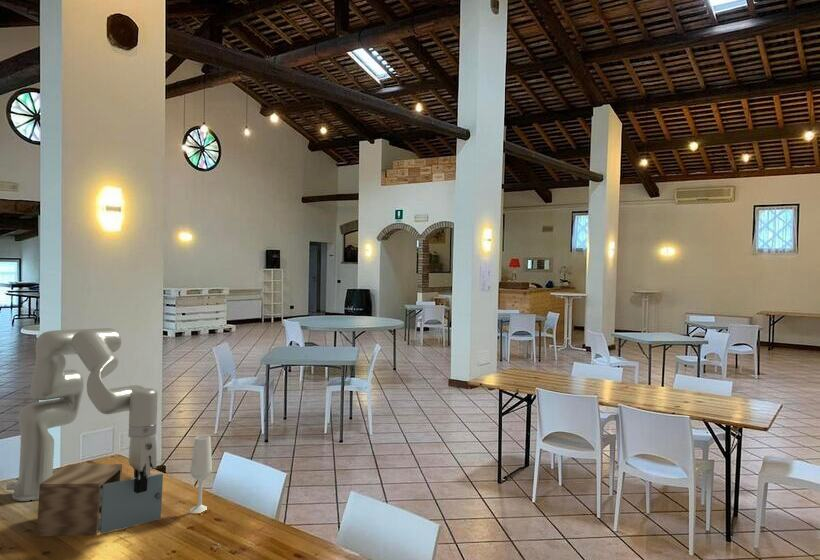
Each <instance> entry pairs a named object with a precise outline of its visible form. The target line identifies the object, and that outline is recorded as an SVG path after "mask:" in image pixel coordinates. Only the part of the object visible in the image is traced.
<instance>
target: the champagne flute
mask: <svg viewBox="0 0 820 560" xmlns="http://www.w3.org/2000/svg"><path fill="white" fill-rule="evenodd" d="M211 439H212V438H211V436H210V435H205V434H204V435H197V436H195V438H194V443H193V450H192V451H193V452H192V457H191V458H192V459H191V465H190V470H189V471H190V474H191V476H192V477H193V479H195V480H196V481H197V482H198V491H197V492H198V493H197V494H198V495H197V505H195V506H193V507H191V508H190V509H189V510H190V513H201V512H203V511H205V510H207V507H208V506H206V505H203V503H202V502H203V483H204V482H203V481H205V480H206V479H207V478H208V477H210V475H211V473H212V471H213V462H212V461H213V459H212V456H213V455H212V440H211ZM190 513H189V514H190Z"/></svg>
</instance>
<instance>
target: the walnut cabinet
mask: <svg viewBox="0 0 820 560" xmlns="http://www.w3.org/2000/svg"><path fill="white" fill-rule="evenodd" d="M122 472H123V464H121V463H120V464H118V463H117V464H116V463H115V464H113V463H112V464H109V463H107V464H105V463H104V464H102V463H101V464H98V463H97V464H93V463H92V464H68V465H66V466H64V467H63V468H62V469H60V470H58V471H57V472H55V473H54V474H53V476H51V477H50V478H48V479H47V480H45V481H44V482H42V483H41V484H40V486H39V499H38V505H37V527H36V537H37V536H38V537H68V536H69V537H72V536H73V537H74V536H97V535H98V534H99V533H100V531H98V520H99V519H101V502H102V499H100V488H102V484H107V483H112V482H117V481H122V476H123V475H122V474H123V473H122Z"/></svg>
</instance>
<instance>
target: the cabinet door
mask: <svg viewBox="0 0 820 560" xmlns="http://www.w3.org/2000/svg"><path fill="white" fill-rule="evenodd" d="M134 479H136V478H134V477H133V478H129V479H123V480H122V479H121V481H117V482H112V483H107V484H102V488H100V499H102V502H101V519H99V520H98V531H100V532H99V533H100V535H101V534H105V533H110V532H113V531H117V530H118V531H119V530H121V529H122V530H123V529H126V528H129V527H134V526H136V525H137V526H138V525H141V524H144V523H149V522H153V521H158V520H161V519H162V504H163V503H162V501H163V482H164V481H163V480H164V473H162V472H160V473H154V474H150V475H148V478H147V491H145V492H141V493H135V492H134Z"/></svg>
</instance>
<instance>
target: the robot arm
mask: <svg viewBox="0 0 820 560" xmlns="http://www.w3.org/2000/svg"><path fill="white" fill-rule="evenodd" d="M121 345H122V337H121V335H120V334H119V332H118V331H117V330H115V329H113V328H111V327H109V328H108V327H105V328H83V329H81V328H80V329H61V330H60V329H58V330H49V331H44V332H42V333H41V334H39V336H38V338H37V340H36V342H35V357H36V358H35V359H36V360H35V365H34V368H33V369H34V370H33V372H32V373H33V374H32V379H31V382H30V383H31V384H30V391H29V393H30V397H31V398H32V399H33V400H36V401H37V402H32V403H28V404H27V405H26V404H25V406H23V407H22V408H21V409H20V411H19V413H18V423H19V424H18V425H19V431H20V451H19V452H20V453H19V470H18V481H8V482H7V483H6V489H5V490H6V491H7V490H8V491H11V490H13V491H14V492H13V493H12V494H11V495H12V496H11V499H13V500H14V501H18V502H30V500H32V501H39V486H40V484H41V483H42V482H44V481H45V480H47V479H48V478H50V477H51V476H53V475H54V474H53V472H54V457H55V456H54V455H55V439H54V436H52V434H51V433H50V432H49V429H52V428H57V427H60V426H65V425H69V424H71V423H73V422H74V421H75V420H76V418H77V416H78V413H79V410H80V405H81V401H82V396H83V394H84V393H83V392H84V386H85V385H84V384H85V382H84V377H83V374H82V373H81V372H80V371H78V370H76V369H65V367H66V363H67V361H66V358H65V356H72V355H77V356H78V358H79V359H80V360H81V361H82V363H83V365H84V366H85V368H86V369H87V370H88V372H89V375H88V378H87V380H86V393H87V396H88V398H89V400H90V401H91V403H92V404H93V405H94V407H95V408H96V410H97V411H98V412H99V413H101V414H103V415H114V414H119V413H122V412H129V413H128V438H129V447H128V448H129V449H128V463H129V466H130V467H131V468H132V469H133V478H136V479H134V492H135V493H141V492H145V491H147V478H148V475H151V469H154V470H155V469H156V468H157V464H158V462H157V460H158V459H157V458H158V457H157V453H158V451H157V449H158V448H157V440H156V435H157V427H158V426H157V425H158V419H157V418H158V414H157V413H158V391H157V390H156V389H155V388H145V387H143V386H142V385H138V384H137V385H136V384H134V385H132V384H131V385H127V386H119V387H113V388H108V387H107V386H106V384H105V383H104V381H103V379H104V378H105V377H107V376H109V375H110V374H112V373H113V372H114V371H115V370H116V368H117V367H118V365H119V359H118V358H117V356H116V354H114V353H116V352H117V351H118V350H119V349H120V348H121Z"/></svg>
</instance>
